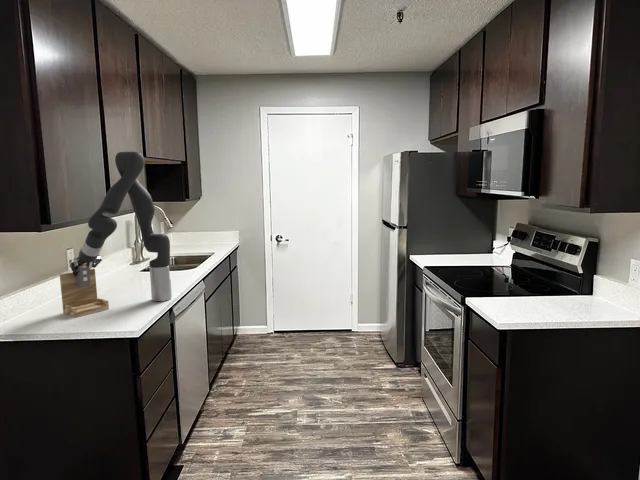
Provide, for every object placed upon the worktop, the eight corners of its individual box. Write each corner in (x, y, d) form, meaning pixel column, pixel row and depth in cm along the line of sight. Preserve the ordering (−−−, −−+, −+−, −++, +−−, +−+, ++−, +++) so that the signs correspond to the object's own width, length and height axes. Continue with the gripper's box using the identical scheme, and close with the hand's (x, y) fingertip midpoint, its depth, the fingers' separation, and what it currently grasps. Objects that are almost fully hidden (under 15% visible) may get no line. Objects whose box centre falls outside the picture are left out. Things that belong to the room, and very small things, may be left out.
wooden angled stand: (108, 309, 195) (105, 271, 193) (75, 317, 183) (71, 277, 181) (96, 305, 202) (93, 268, 199) (63, 313, 190) (59, 274, 187)
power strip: (90, 285, 192) (88, 257, 190) (81, 287, 188) (79, 258, 187) (85, 284, 194) (82, 256, 193) (76, 286, 191) (73, 258, 190)
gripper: (103, 241, 190) (92, 264, 199) (70, 244, 179) (60, 269, 187) (110, 253, 188) (99, 277, 196) (77, 258, 176) (66, 282, 185)
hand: (80, 273), depth 192 cm, fingers closed on power strip, 4 cm apart
